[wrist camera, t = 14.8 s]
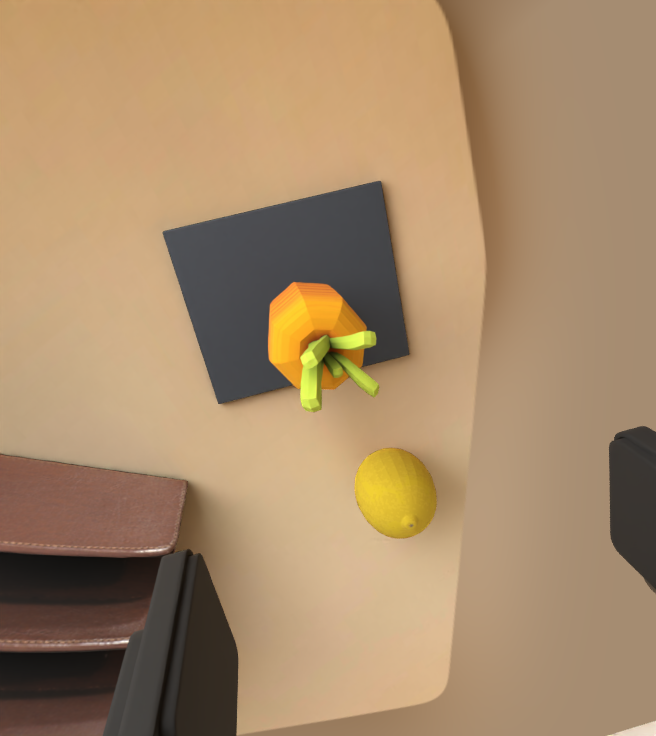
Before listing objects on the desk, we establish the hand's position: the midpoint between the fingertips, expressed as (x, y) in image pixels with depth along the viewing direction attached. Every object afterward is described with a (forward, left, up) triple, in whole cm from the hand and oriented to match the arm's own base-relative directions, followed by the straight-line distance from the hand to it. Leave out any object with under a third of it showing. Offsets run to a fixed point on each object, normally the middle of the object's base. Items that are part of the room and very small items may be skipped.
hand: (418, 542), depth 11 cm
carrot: (0, 0, -25) cm, 25 cm away
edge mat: (0, 0, -25) cm, 25 cm away
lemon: (-3, +14, -25) cm, 29 cm away
